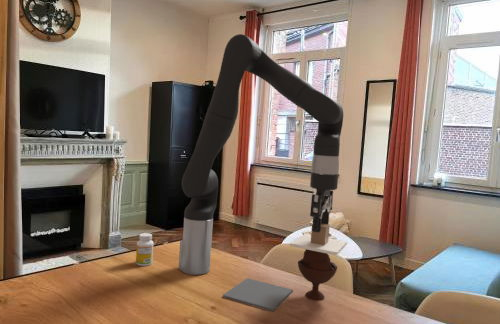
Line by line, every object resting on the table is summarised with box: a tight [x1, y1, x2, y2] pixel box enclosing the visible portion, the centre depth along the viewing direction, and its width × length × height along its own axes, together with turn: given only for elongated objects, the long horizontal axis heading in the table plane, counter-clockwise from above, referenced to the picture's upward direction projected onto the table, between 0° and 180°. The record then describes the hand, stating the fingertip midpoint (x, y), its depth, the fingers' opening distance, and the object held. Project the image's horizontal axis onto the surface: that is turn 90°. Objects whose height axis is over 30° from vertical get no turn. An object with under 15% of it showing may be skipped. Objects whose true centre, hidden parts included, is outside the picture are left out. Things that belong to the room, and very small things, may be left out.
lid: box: [289, 224, 348, 256], centre depth 105 cm, size 13×13×6 cm
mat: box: [222, 277, 294, 312], centre depth 105 cm, size 15×15×1 cm
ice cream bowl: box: [297, 249, 338, 302], centre depth 106 cm, size 11×11×15 cm
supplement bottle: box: [135, 232, 155, 267], centre depth 123 cm, size 5×5×10 cm
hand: (320, 228), depth 105 cm, fingers open, 8 cm apart
